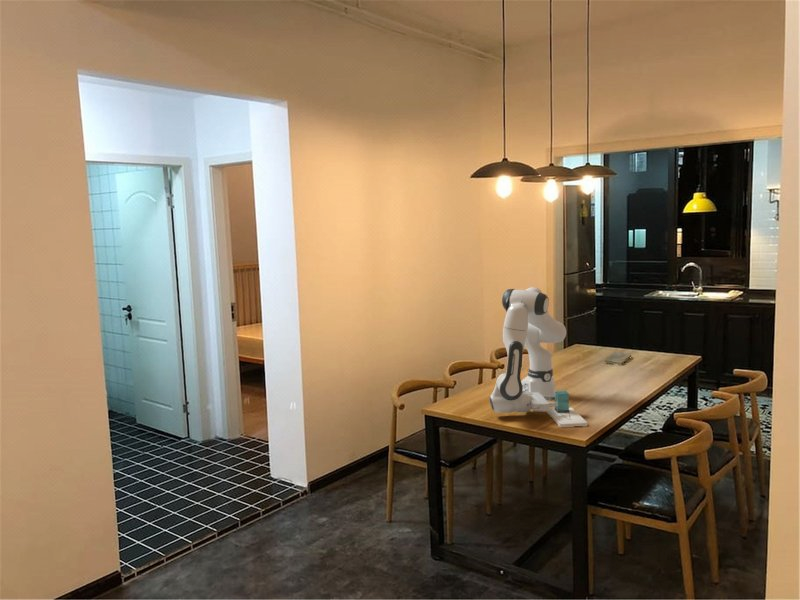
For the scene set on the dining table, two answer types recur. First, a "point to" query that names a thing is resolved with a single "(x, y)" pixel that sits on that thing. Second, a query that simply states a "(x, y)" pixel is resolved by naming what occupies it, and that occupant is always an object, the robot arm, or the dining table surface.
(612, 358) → the stone slab
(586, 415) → the dining table surface
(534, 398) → the robot arm
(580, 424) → the board
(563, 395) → the block
